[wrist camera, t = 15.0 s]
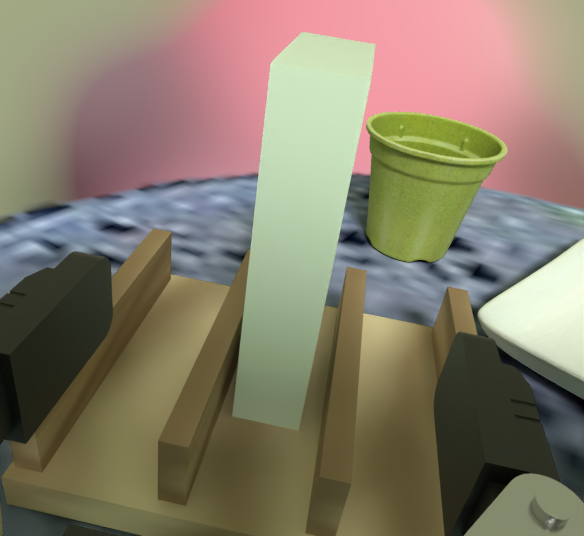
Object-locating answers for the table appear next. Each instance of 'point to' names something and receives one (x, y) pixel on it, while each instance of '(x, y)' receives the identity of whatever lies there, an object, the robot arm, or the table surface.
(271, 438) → the drying rack
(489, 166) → the plant pot
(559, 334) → the salad plate
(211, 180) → the table surface
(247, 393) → the pale green block
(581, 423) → the table surface
